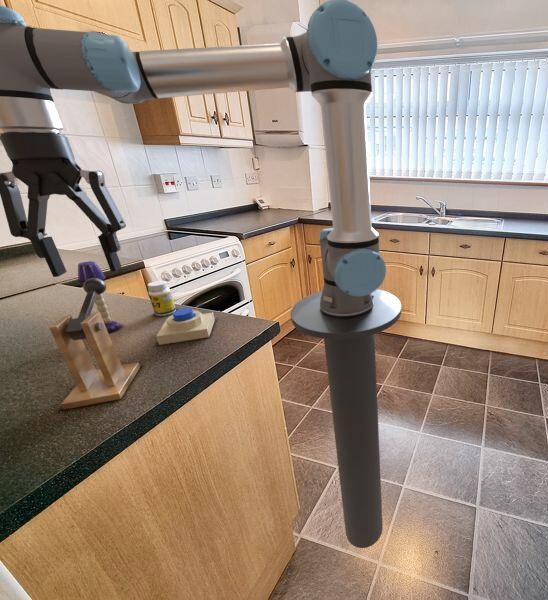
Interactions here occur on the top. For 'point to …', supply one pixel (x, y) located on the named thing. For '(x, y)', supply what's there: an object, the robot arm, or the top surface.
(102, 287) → the switch lever
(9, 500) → the top surface
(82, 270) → the toy lamp
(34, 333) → the top surface
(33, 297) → the top surface
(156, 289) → the supplement bottle
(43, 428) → the top surface
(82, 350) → the lever bracket
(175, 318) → the switch button
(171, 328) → the button box
